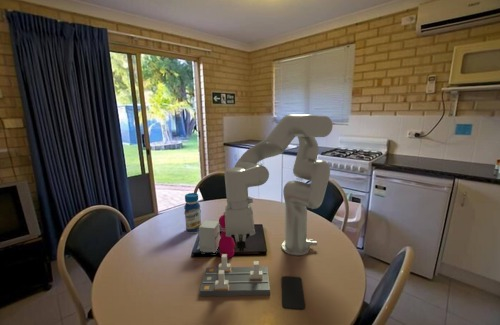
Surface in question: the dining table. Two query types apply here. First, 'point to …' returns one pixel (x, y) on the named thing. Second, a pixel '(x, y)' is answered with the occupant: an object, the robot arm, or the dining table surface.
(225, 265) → the back switch tab
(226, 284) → the front switch tab
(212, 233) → the supplement box
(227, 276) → the switch panel
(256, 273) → the middle switch tab
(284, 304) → the phone
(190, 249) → the dining table surface
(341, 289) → the dining table surface
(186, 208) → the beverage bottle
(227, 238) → the pepper mill
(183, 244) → the dining table surface
